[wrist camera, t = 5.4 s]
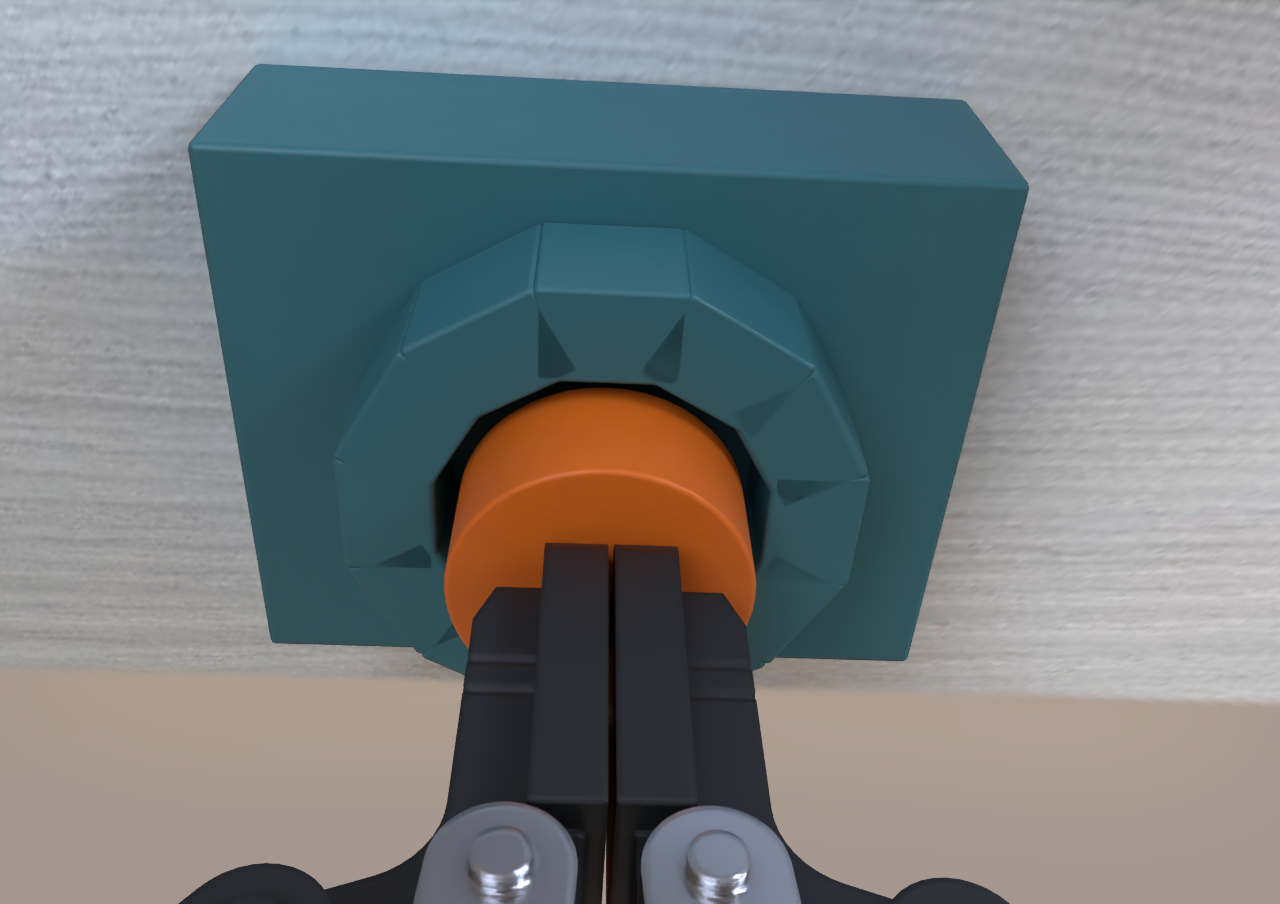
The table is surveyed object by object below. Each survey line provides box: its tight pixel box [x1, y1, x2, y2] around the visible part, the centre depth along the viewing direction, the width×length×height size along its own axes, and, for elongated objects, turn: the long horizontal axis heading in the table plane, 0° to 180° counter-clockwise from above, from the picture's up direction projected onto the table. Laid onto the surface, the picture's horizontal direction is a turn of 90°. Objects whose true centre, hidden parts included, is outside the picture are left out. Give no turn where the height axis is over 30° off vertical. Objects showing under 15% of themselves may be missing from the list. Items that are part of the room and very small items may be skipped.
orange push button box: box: [188, 64, 1029, 675], centre depth 17 cm, size 10×8×5 cm
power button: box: [444, 387, 756, 649], centre depth 14 cm, size 4×4×2 cm
